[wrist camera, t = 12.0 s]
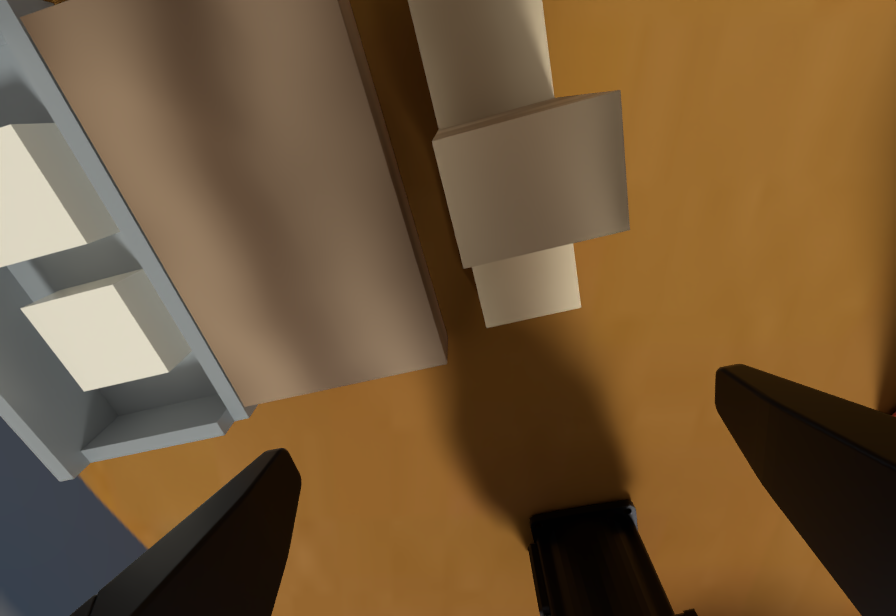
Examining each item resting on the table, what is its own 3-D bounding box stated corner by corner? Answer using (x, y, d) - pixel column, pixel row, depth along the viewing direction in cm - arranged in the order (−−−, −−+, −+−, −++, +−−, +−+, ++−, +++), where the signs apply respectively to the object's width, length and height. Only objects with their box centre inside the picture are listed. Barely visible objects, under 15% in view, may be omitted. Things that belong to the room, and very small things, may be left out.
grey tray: (53, 3, 15) (-71, -30, 12) (265, 393, 23) (230, 447, 19) (-147, 73, 16) (-318, 62, 13) (119, 424, 24) (59, 481, 20)
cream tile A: (58, 122, 17) (10, 124, 15) (123, 230, 18) (87, 243, 17) (-37, 152, 17) (-95, 157, 15) (35, 254, 19) (-9, 269, 17)
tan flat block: (333, -55, 14) (311, -85, 12) (447, 336, 21) (447, 363, 19) (82, 31, 16) (19, 17, 13) (265, 376, 22) (244, 407, 20)
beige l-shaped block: (515, -55, 15) (597, -263, 6) (563, 280, 20) (640, 397, 12) (405, -21, 15) (353, -174, 7) (481, 299, 20) (502, 424, 12)
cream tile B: (144, 267, 19) (112, 284, 17) (193, 349, 21) (168, 372, 19) (59, 290, 20) (20, 308, 18) (115, 367, 22) (84, 391, 20)
